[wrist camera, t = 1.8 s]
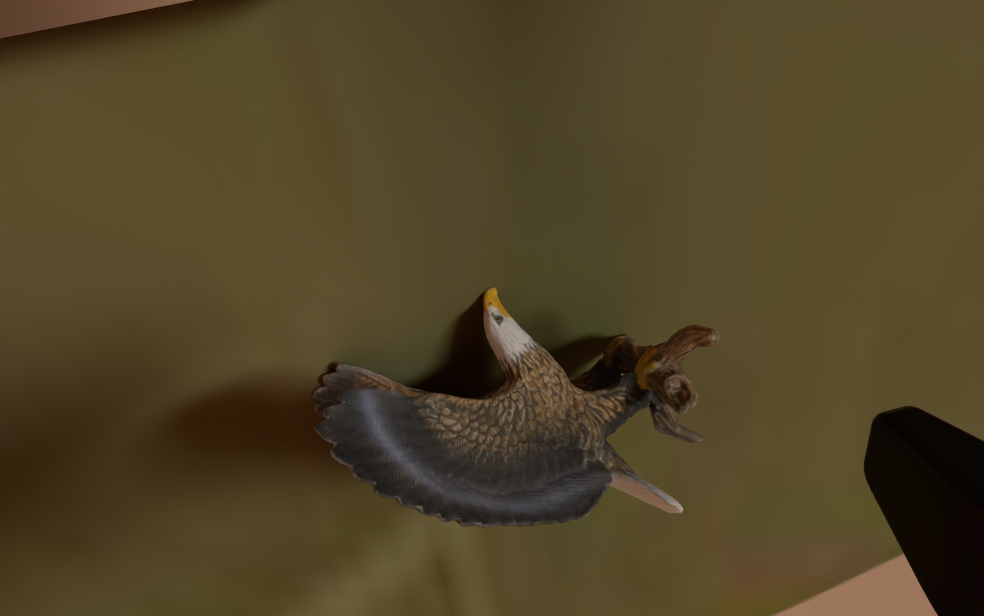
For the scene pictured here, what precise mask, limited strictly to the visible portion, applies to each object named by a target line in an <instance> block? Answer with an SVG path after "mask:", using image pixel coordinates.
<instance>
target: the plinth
mask: <svg viewBox="0 0 984 616" xmlns="http://www.w3.org/2000/svg"><path fill="white" fill-rule="evenodd" d="M187 1H192V0H0V38H5V37H10V36H15V35H20V34H25V33H30V32H35V31H40V30H45V29H50V28H55V27H60V26H65V25H70V24H75V23H80V22H86V21H91V20H96V19H101V18H106V17H111V16H116V15H121V14H126V13H131V12H136V11H141V10H146V9H151V8H156V7H161V6H166V5H171V4H176V3H182V2H187Z"/></svg>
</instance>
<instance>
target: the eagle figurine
mask: <svg viewBox="0 0 984 616" xmlns="http://www.w3.org/2000/svg"><path fill="white" fill-rule="evenodd" d="M483 305H484V328H485V333H486V336H487V339H488V342H489V344H490V346H491V348H492V349H493V351H494V353H495V355H496V357H497V359H498V361H499V363H500V365H501V367H502V370H503V373H504V375H505V377H506V381H505V382H504V384H503V385H502V386H500V387H499V388H497V389H496V390H494V391H492V392H490V393H488V394H486V395H483V396H479V397H473V398H461V397H456V396H452V395H446V394H441V393H434V392H427V391H424V390H421V389H414V388H409V387H406V386H404V385H402V384H401V383H398V382H395V381H393V380H391V379H389V378H386V377H384V376H382V375H379V374H376V373H373V372H371V371H369V370H367V369H365V368H362V367H360V366H354V365H351V364H348V363H343V362H341V363H339V364H338V365H337V367H336V372H333V373H327V374H325V375H324V376H323V377H322V380H323V383H324V385H325V386H324V387H320V388H317V389H316V390H315V391H314V392H313V395H312V396H313V398H314V399H315V400H316V401H318V403H317V404H316V405H315V407H314V410H315V412H316V413H317V414H318V415H319V416H321V417H323V418H325V419H324V420H323V421H321V422H318V423H316V425H315V426H314V429H315V431H316V432H317V434H318V435H320V436H321V437H322V439H324V440H326V441H327V442H330V443H332V444H333V448H332V449H331V456H332V458H334V459H335V460H336V461H338V462H339V463H341V464H343V465H345V466H347V467H348V469H349V470H350V473H351V475H352V476H353V477H354V478H356V479H358V480H361V481H364V482H368V483H370V484H371V485H372V486H373V487H372V490H373V493H375V494H378V495H380V496H381V497H387V498H395V499H396V500H397V502H398V503H399V504H400V505H401V506H404V507H409V508H413V509H417V510H418V511H419V512H420V513H422V514H423V515H427V516H436V517H437V518H439V519H440V520H441V521H444V522H450V521H453V520H455V521H456V522H457V523H458V524H460V525H462V526H473V525H477V526H480V527H493V526H519V527H522V526H536V525H539V524H552V523H565V522H569V521H571V520H577V519H582V518H585V517H586V516H588V515H589V513H590V512H591V511H592V510H593V508H594V506H596V505H597V504H598V502H599V501H600V499H601V497H602V496H603V494H604V493H606V491H607V487H606V486H610V487H614V488H616V489H619V490H621V491H623V492H626V493H628V494H630V495H632V496H634V497H637V498H639V499H641V500H643V501H645V502H647V503H649V504H651V505H654V506H656V507H658V508H660V509H662V510H664V511H666V512H669V513H682V511H683V508H682V506H681V505H680V504H679V503H678V502H677V501H676V500H675V499H674V498H672V497H671V496H670V495H668V494H667V493H665V492H664V491H662V490H661V489H659V488H657V487H656V486H654V485H652V484H650V483H649V482H647V481H646V480H644V479H642V478H641V477H639V476H637V475H636V474H635V473H634V472H633V471H632V469H631V468H630V467H629V466H628V464H627V463H626V462H625V461H624V460H623V459H622V458H621V457H620V456H619V455H618V454H617V453H616V452H615V450H614V449H613V447H612V446H611V445H610V444H609V443H608V442H607V441H606V438H607V437H608V436H609V435H610V434H612V433H614V432H615V430H616V429H617V428H618V427H619V426H620V425H621V424H623V423H625V422H626V420H627V419H628V418H629V417H632V416H633V414H634V413H636V412H638V411H639V410H640V409H643V408H646V407H648V406H649V408H650V411H651V415H652V419H653V423H654V427H655V429H656V430H657V431H658V432H659V433H663V434H668V435H672V436H674V437H676V438H679V439H681V440H683V441H687V442H691V443H697V442H703V441H704V440H705V438H704V436H702V435H700V434H698V433H697V432H695V431H692V430H690V429H688V428H686V427H685V426H683V425H682V424H681V422H680V421H679V419H678V418H677V415H676V413H675V412H677V413H678V414H685V413H686V412H687V411H688V410H690V409H692V408H694V407H695V405H696V404H697V401H698V393H697V389H696V387H695V385H694V384H693V382H692V381H691V379H690V378H689V377H688V376H687V375H686V374H685V373H684V372H683V370H682V363H683V360H684V359H685V358H686V357H687V356H688V355H689V354H690V353H692V352H693V351H695V350H697V349H698V348H700V347H709V346H713V345H714V344H716V343H717V342H718V340H719V339H720V335H719V333H718V332H717V331H716V330H714V329H710V328H707V327H703V326H698V325H691V326H687V327H685V328H683V329H680V330H679V331H678V332H676V333H675V334H673V335H672V336H671V337H670V338H669V340H668V341H667V342H664V343H661V344H658V345H656V346H652V345H650V346H642V347H641V346H639V345H638V344H636V343H635V342H634V340H633V339H631V337H630V336H628V335H626V334H623V335H621V336H618V337H614V338H613V340H612V341H611V342H610V343H609V345H608V346H607V348H606V349H605V352H604V355H603V358H602V359H600V360H599V361H598V362H597V363H596V364H595V365H594V366H593V367H592V368H591V369H590V370H589V371H587V372H584V373H582V374H581V375H580V376H579V377H577V378H576V379H574V380H569V378H568V377H567V375H566V373H565V372H564V370H563V369H562V368H561V366H560V365H559V364H558V363H557V362H556V361H555V360H554V358H553V357H552V356H551V355H550V353H549V352H548V351H547V350H546V349H544V348H543V347H542V346H540V345H539V344H538V343H536V342H535V341H534V340H533V339H532V338H531V337H530V336H529V335H528V334H527V333H526V332H525V331H523V330H522V329H521V328H520V326H519V325H518V324H517V323H516V322H515V321H514V319H513V318H512V317H511V316H510V315H509V314H508V312H507V311H506V310H505V309H504V308H503V306H502V305H501V303H500V301H499V299H498V296H497V290H496V288H490V289H488V290H487V291H486V292H485V294H484V297H483ZM621 373H624V374H625V375H623V376H621Z"/></svg>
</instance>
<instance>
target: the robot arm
mask: <svg viewBox="0 0 984 616" xmlns="http://www.w3.org/2000/svg"><path fill="white" fill-rule="evenodd" d="M864 473H865V477H866V480H867V483H868V485H869V487H870V489H871V491H872V493H873V495H874V497H875V499H876V501H877V503H878V505H879V507H880V508H881V510H882V512H883V514H884V516H885V518H886V520H887V522H888V524H889V526H890V528H891V530H892V532H893V533H894V535H895V537H896V539H897V541H898V543H899V545H900V547H901V549H902V551H903V553H904V555H905V557H906V559H907V560H908V562H909V564H910V566H911V568H912V570H913V572H914V574H915V576H916V577H917V580H918V582H919V583H920V585H921V587H922V589H923V591H924V593H925V594H926V596H927V598H928V600H929V602H930V603H931V605H932V607H933V608H934V610H935V611H936V613H937V615H938V616H984V441H983V440H981V439H979V438H977V437H975V436H973V435H971V434H969V433H967V432H965V431H963V430H961V429H959V428H957V427H955V426H953V425H951V424H949V423H947V422H945V421H943V420H941V419H939V418H937V417H935V416H933V415H931V414H929V413H927V412H925V411H924V410H922V409H919V408H916V407H913V406H904V407H900V408H896V409H892V410H889V411H885V412H881V413H879V414H877V415H876V417H875V418H874V419H873V422H872V425H871V430H870V435H869V440H868V445H867V450H866V455H865V460H864Z"/></svg>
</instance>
